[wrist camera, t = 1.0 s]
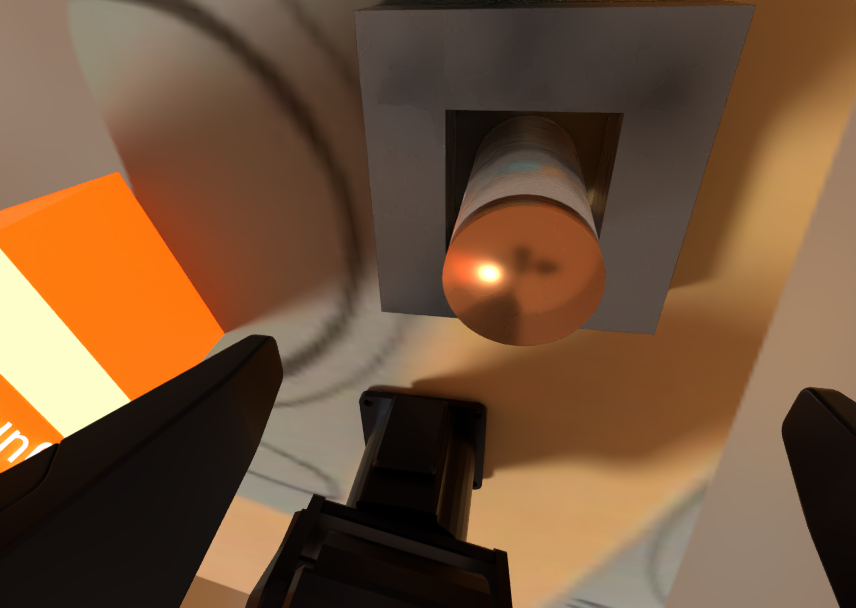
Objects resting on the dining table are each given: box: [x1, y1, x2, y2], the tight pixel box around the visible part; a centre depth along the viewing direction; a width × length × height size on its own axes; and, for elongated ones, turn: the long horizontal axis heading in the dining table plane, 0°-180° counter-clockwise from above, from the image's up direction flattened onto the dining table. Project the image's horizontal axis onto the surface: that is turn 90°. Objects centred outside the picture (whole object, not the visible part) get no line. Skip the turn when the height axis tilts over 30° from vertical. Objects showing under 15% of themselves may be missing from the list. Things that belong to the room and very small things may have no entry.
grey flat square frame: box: [354, 0, 756, 335], centre depth 16 cm, size 10×10×2 cm
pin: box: [442, 115, 606, 346], centre depth 14 cm, size 4×4×8 cm
